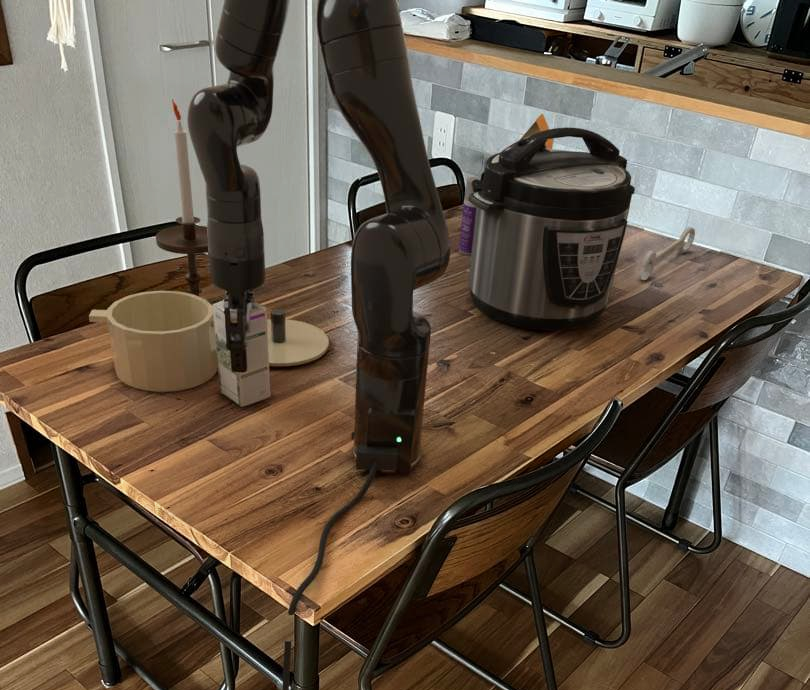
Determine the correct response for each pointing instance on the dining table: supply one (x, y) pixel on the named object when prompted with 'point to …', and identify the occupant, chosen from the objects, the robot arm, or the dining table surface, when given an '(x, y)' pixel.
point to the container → (468, 220)
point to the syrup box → (256, 378)
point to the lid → (293, 341)
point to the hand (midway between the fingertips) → (242, 357)
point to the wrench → (666, 252)
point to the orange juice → (539, 130)
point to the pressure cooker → (549, 231)
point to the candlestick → (185, 216)
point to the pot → (161, 340)
